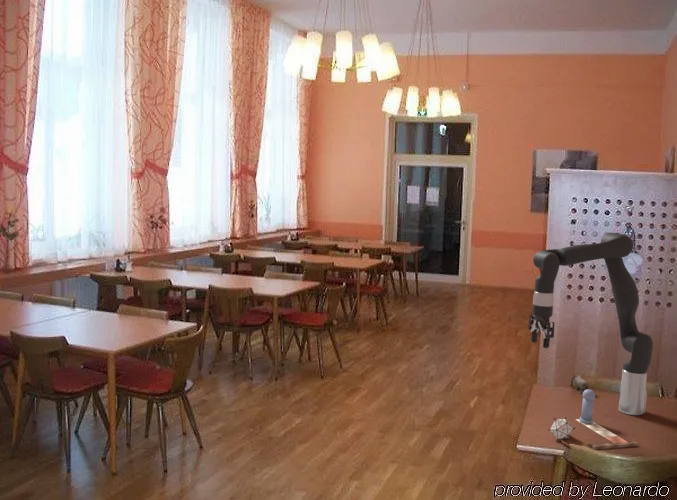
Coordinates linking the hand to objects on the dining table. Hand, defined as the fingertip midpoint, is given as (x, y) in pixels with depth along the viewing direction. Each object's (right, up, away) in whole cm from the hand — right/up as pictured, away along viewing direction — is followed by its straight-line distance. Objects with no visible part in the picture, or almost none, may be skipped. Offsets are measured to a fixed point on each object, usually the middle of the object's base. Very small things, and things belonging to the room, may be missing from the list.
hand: (539, 344), depth 279 cm
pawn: (+18, -29, -1) cm, 34 cm away
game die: (+3, -32, -18) cm, 37 cm away
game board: (+17, -32, -10) cm, 37 cm away
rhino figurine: (+29, -26, +42) cm, 57 cm away
